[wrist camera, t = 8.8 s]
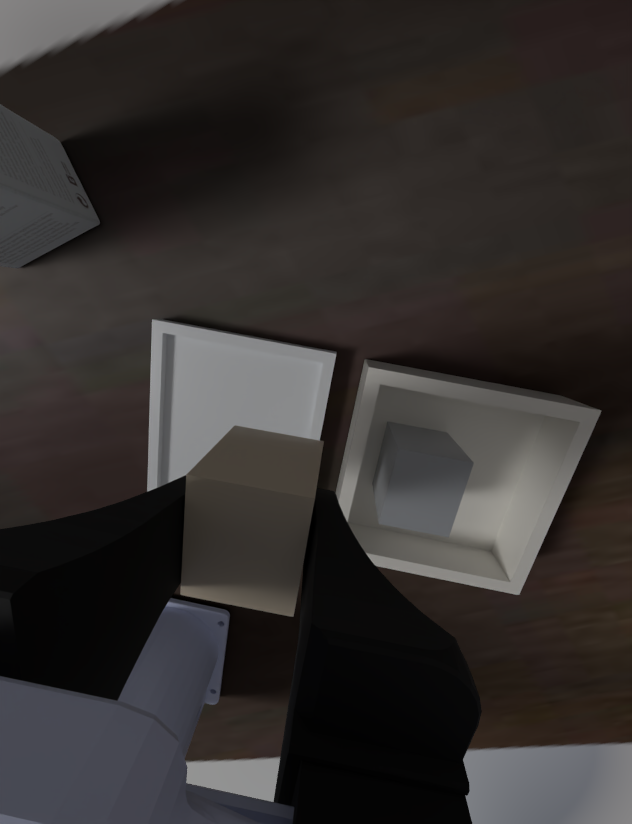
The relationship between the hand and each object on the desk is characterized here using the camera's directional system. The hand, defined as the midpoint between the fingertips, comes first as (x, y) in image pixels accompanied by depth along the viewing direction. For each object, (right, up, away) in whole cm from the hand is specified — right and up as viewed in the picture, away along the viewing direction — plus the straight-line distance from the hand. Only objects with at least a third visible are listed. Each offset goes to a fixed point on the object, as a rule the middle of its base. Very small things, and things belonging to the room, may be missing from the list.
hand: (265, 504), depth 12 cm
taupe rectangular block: (0, +1, +1) cm, 1 cm away
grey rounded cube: (+7, +1, +8) cm, 10 cm away
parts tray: (-3, +1, +9) cm, 9 cm away
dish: (+9, 0, +8) cm, 12 cm away
